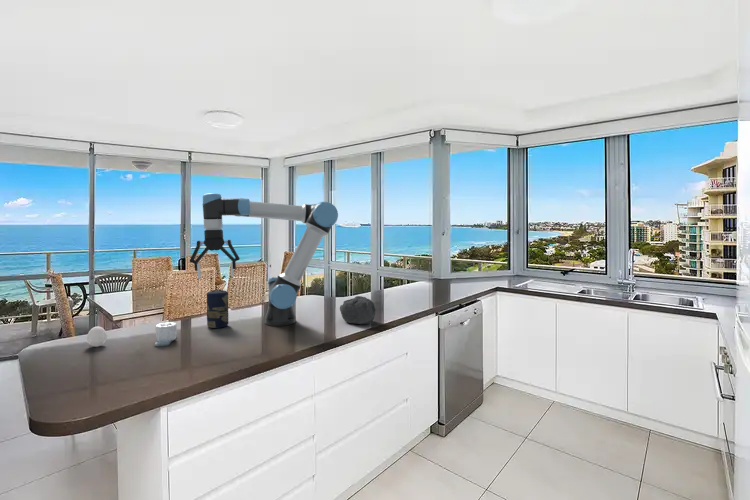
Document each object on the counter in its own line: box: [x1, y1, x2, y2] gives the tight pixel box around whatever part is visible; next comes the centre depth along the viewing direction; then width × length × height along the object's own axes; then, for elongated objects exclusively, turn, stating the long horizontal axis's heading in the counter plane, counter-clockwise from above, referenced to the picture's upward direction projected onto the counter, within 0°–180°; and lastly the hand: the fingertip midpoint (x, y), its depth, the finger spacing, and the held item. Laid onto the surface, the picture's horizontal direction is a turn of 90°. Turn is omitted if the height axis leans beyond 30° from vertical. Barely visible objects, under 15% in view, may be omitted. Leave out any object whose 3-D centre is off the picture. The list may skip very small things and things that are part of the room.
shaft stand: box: [154, 324, 174, 347], centre depth 155 cm, size 5×12×7 cm, turn 14°
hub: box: [155, 321, 178, 342], centre depth 155 cm, size 7×7×6 cm
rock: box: [339, 295, 377, 325], centre depth 191 cm, size 22×14×15 cm
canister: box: [206, 288, 229, 329], centre depth 178 cm, size 10×10×18 cm
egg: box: [86, 326, 108, 348], centre depth 147 cm, size 6×6×8 cm
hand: (216, 277), depth 166 cm, fingers open, 13 cm apart
